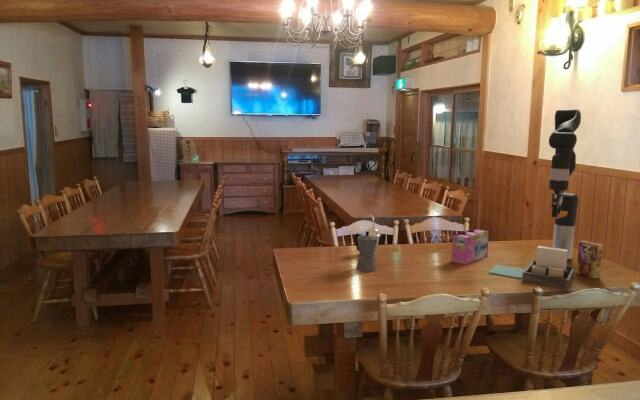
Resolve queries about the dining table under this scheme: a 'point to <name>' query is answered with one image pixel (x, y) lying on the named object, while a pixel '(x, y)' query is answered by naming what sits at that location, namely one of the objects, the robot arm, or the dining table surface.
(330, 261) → the dining table surface
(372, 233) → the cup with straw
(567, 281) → the tray
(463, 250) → the pink multipack
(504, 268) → the teal mat
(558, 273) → the birch offcut
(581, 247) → the candy box
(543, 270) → the grey mdf offcut
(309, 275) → the dining table surface
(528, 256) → the dining table surface
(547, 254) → the white square slab
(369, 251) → the coffeepot
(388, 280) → the dining table surface
